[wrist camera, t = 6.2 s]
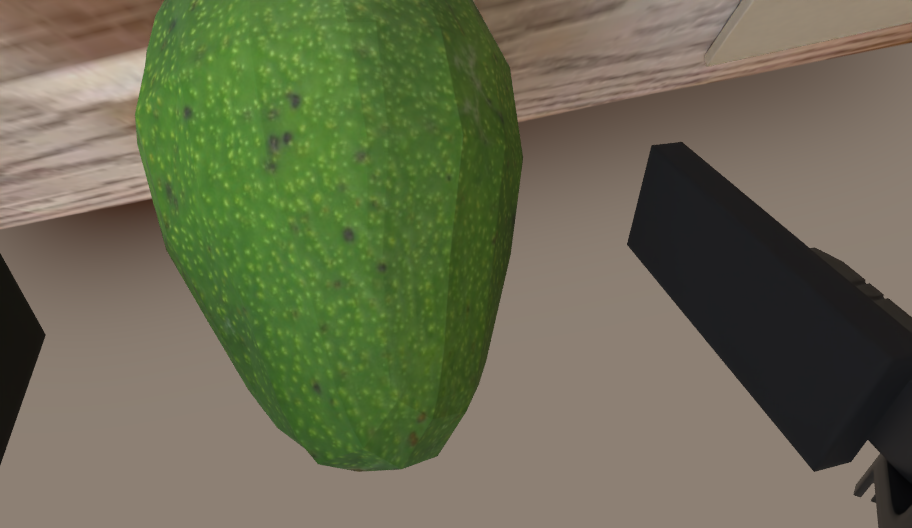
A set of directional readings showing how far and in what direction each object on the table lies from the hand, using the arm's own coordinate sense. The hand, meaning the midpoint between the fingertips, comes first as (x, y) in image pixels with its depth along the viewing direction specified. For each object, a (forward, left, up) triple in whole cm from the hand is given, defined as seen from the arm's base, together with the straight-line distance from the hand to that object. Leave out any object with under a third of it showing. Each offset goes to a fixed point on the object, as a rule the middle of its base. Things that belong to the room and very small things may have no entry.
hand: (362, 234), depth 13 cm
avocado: (0, -1, -7) cm, 7 cm away
